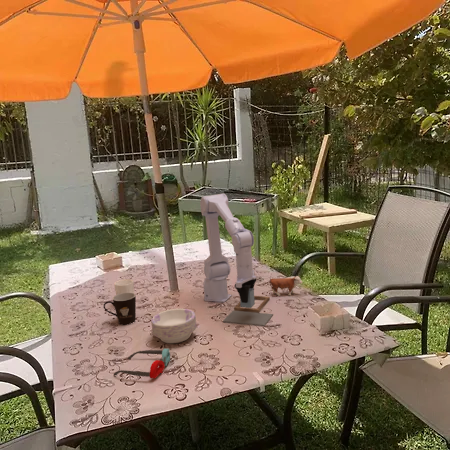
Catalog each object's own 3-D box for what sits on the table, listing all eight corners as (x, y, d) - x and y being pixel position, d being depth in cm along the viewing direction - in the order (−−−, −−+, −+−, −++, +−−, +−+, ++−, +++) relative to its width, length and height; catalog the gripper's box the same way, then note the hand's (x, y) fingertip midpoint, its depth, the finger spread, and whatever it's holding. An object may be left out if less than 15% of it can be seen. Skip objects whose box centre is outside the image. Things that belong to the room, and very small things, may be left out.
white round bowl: (148, 334, 166) (146, 313, 165) (189, 325, 172) (187, 304, 171) (160, 352, 153) (157, 329, 151) (203, 340, 158) (201, 318, 157)
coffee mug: (142, 317, 182) (139, 293, 180) (131, 326, 174) (128, 301, 172) (116, 315, 186) (113, 291, 184) (104, 324, 178) (101, 299, 176)
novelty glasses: (157, 383, 134) (156, 367, 133) (110, 380, 138) (108, 364, 137) (174, 359, 148) (172, 345, 147) (130, 357, 151) (128, 343, 150)
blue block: (240, 307, 172) (239, 291, 170) (244, 303, 175) (243, 287, 174) (251, 307, 170) (249, 292, 169) (254, 303, 174) (253, 288, 172)
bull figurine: (302, 296, 192) (301, 277, 190) (269, 296, 194) (268, 277, 193) (303, 292, 196) (302, 274, 194) (270, 292, 199) (269, 274, 197)
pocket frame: (234, 310, 182) (233, 307, 182) (246, 297, 195) (246, 295, 194) (258, 312, 178) (258, 309, 178) (269, 299, 191) (269, 296, 191)
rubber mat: (222, 322, 172) (222, 320, 172) (233, 311, 181) (233, 310, 181) (264, 326, 166) (264, 324, 166) (273, 315, 175) (272, 314, 175)
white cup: (139, 303, 197) (137, 281, 195) (124, 310, 192) (121, 286, 190) (128, 300, 203) (126, 278, 201) (113, 306, 197) (110, 283, 195)
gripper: (247, 271, 161) (250, 308, 164) (261, 259, 174) (263, 294, 177) (228, 270, 164) (231, 306, 167) (243, 258, 177) (246, 292, 180)
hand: (246, 300), depth 172 cm, fingers closed on blue block, 4 cm apart
